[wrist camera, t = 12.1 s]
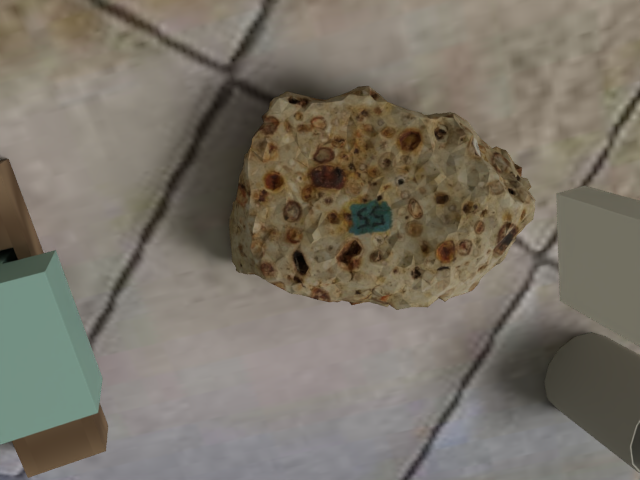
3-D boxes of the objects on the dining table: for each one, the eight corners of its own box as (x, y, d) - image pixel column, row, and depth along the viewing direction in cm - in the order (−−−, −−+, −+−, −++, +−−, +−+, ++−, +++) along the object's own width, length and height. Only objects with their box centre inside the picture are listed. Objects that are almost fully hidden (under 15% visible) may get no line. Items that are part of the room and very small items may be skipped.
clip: (-72, 268, 34) (-126, 316, 27) (63, 235, 36) (44, 271, 29) (-17, 391, 37) (-53, 461, 30) (105, 354, 39) (98, 412, 32)
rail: (-82, 178, 33) (-103, 187, 30) (8, 158, 34) (-4, 165, 31) (36, 449, 39) (28, 477, 36) (108, 425, 40) (105, 451, 37)
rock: (221, 291, 41) (228, 310, 31) (235, 98, 41) (247, 57, 31) (472, 303, 46) (546, 323, 36) (484, 129, 46) (563, 102, 36)
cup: (542, 419, 54) (625, 489, 44) (545, 344, 51) (634, 401, 42) (612, 398, 56) (705, 460, 47) (619, 325, 53) (718, 375, 44)
